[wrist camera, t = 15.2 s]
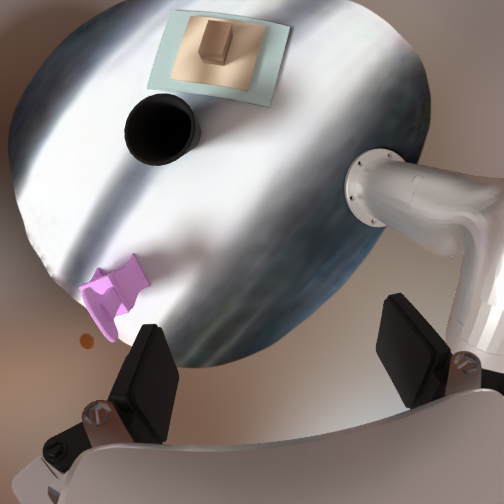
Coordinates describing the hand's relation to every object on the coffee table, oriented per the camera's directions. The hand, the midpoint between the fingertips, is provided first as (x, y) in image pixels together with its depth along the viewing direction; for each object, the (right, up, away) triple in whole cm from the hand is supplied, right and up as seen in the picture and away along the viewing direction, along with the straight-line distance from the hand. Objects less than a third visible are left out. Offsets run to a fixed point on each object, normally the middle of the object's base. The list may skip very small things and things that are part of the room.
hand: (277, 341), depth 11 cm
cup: (-11, +20, +25) cm, 34 cm away
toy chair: (-23, -1, +33) cm, 40 cm away
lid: (-6, +32, +20) cm, 38 cm away
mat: (-6, +32, +20) cm, 38 cm away
